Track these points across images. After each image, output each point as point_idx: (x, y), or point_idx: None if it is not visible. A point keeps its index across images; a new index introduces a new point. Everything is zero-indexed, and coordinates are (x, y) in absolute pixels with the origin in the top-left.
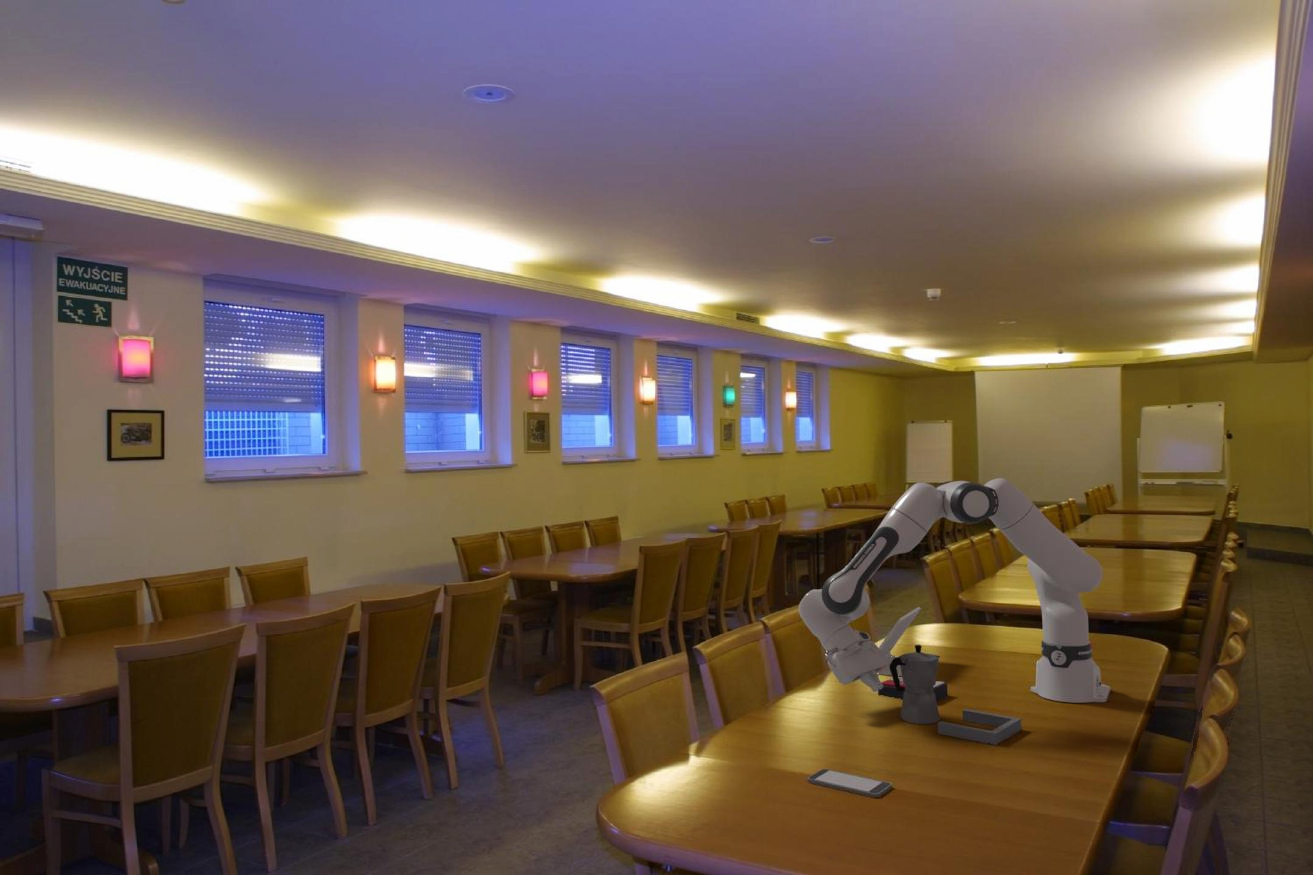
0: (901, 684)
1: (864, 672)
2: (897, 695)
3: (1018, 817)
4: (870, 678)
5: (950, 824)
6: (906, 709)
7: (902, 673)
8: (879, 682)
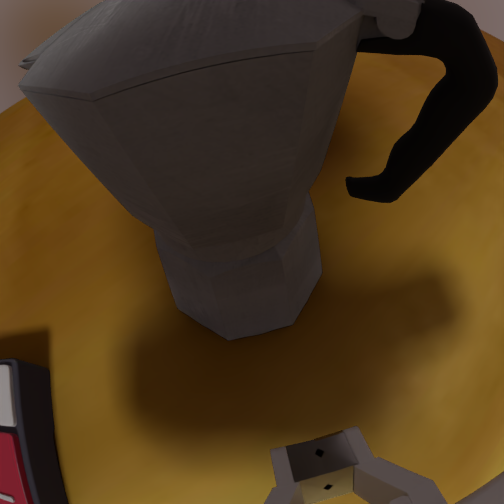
0: (14, 495)
1: (475, 492)
2: (61, 501)
3: None
4: (398, 481)
5: (492, 49)
6: (319, 249)
7: (305, 165)
8: (297, 467)
